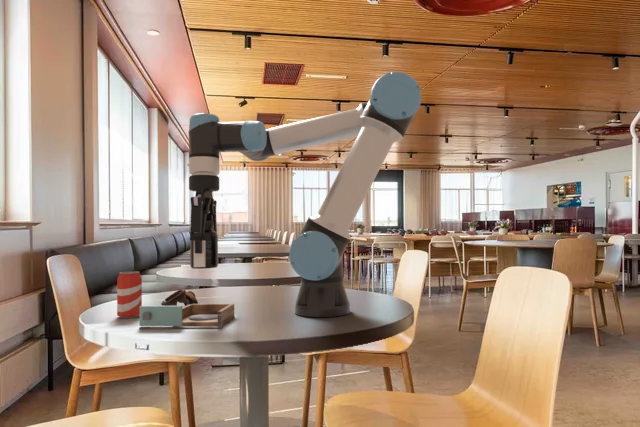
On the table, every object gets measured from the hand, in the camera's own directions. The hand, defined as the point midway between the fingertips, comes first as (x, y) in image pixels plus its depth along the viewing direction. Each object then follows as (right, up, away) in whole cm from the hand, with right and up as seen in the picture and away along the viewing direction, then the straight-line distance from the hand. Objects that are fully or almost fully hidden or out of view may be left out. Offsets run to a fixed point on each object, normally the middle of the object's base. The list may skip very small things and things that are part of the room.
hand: (204, 265), depth 116 cm
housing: (-3, -14, -2) cm, 14 cm away
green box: (-8, -14, -8) cm, 18 cm away
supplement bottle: (0, -1, 0) cm, 1 cm away
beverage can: (-22, -15, +8) cm, 28 cm away
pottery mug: (-8, -15, +9) cm, 19 cm away
